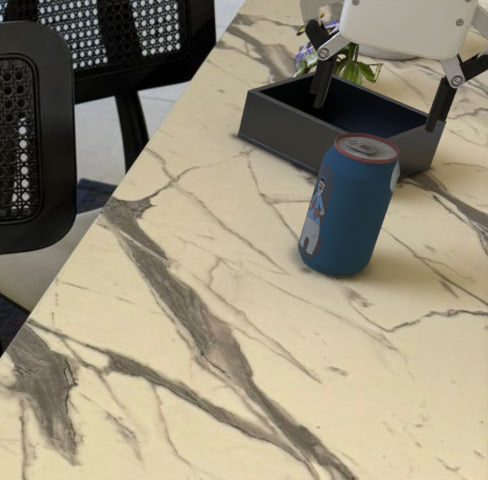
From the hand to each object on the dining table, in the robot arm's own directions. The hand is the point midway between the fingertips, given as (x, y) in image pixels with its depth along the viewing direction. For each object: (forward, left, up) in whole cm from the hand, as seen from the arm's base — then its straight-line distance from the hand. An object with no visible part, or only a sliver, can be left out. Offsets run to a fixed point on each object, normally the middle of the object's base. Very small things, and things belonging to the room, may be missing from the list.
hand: (373, 114), depth 90 cm
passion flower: (+29, -37, -15) cm, 49 cm away
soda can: (0, 0, -15) cm, 15 cm away
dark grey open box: (+16, -21, -15) cm, 30 cm away
